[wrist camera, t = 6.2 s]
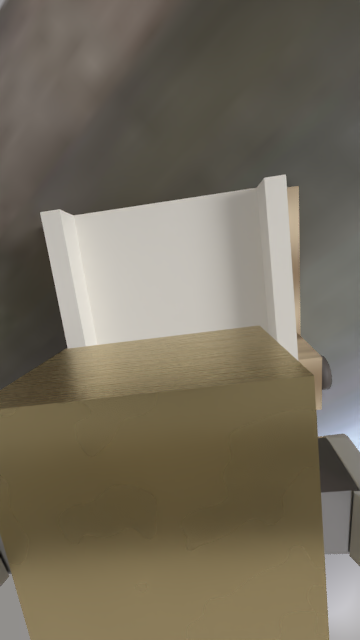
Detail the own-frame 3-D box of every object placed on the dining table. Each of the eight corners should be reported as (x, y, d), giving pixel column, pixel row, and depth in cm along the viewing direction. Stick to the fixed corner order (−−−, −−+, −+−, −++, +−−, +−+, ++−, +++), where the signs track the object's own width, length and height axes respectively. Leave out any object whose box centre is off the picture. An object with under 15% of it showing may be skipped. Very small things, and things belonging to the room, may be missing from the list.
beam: (65, 222, 21) (40, 212, 17) (269, 191, 20) (285, 174, 16) (124, 533, 25) (113, 576, 21) (294, 521, 24) (312, 563, 20)
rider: (65, 348, 9) (-35, 413, 5) (259, 325, 9) (314, 376, 5) (100, 513, 10) (40, 672, 6) (275, 500, 10) (330, 662, 6)
